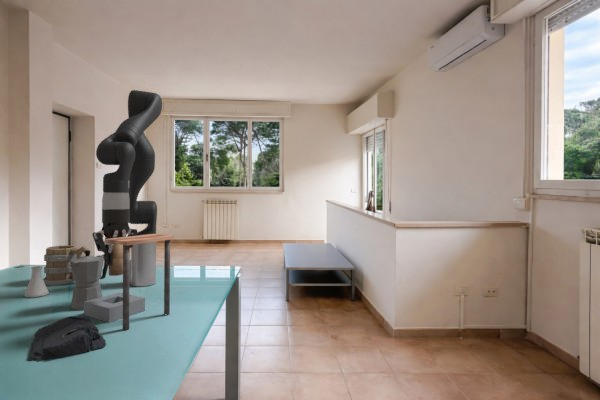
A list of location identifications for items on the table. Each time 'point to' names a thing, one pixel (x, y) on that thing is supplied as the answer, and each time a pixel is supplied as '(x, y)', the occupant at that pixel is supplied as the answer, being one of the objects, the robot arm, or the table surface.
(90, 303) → the socket
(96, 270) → the coffeepot
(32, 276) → the flask
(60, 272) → the tankard
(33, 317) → the table surface
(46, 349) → the dark slate chunk
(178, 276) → the table surface
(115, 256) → the peg
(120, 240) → the small wooden table
